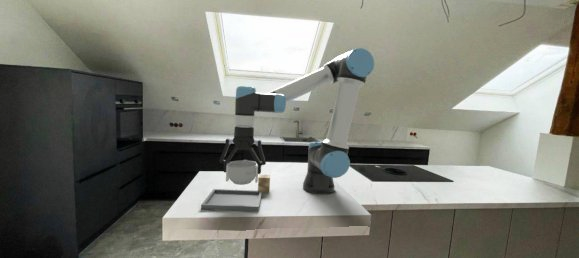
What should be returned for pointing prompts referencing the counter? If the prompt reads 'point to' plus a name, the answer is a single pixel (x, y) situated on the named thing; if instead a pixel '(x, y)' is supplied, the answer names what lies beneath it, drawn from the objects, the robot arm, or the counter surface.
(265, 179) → the oak block
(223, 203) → the tray
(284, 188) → the counter surface
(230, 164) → the teacup
